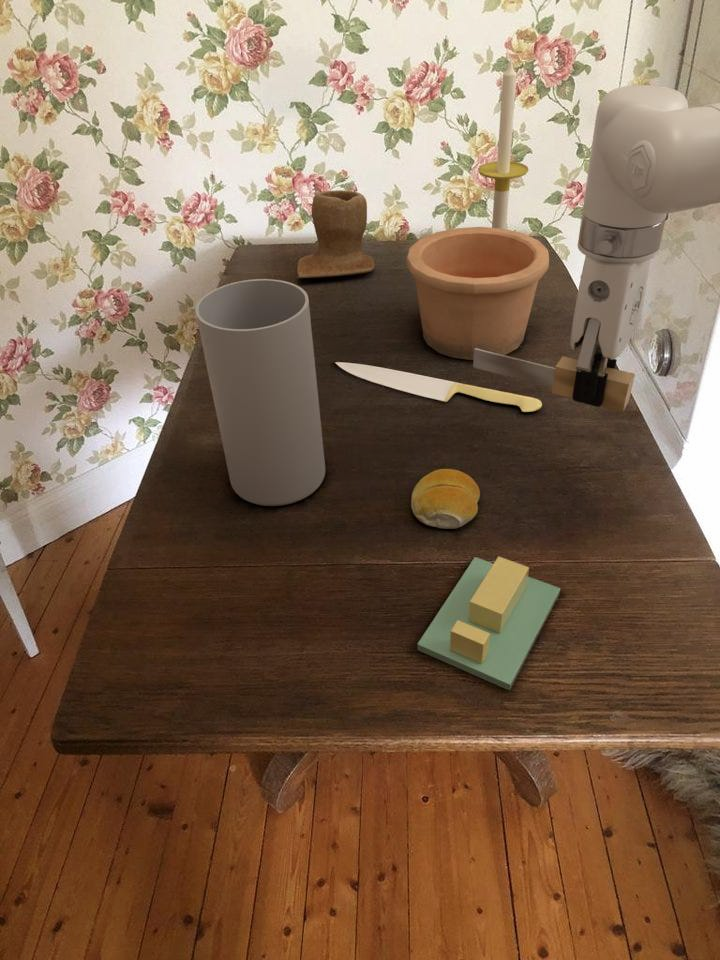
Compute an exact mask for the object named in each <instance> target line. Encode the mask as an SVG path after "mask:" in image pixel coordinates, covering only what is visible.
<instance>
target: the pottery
mask: <svg viewBox="0 0 720 960" xmlns="http://www.w3.org/2000/svg"><path fill="white" fill-rule="evenodd" d="M549 265H550V255H549V249H547V247H546V246H545V245H544V244H543V243H542V242H541V241H540V240H538V239H537V238H534V237H532V236H530V235H527V234H525V233H523V232H519V231H514V230H511V229H507V228H506V229H501V228H492V227H487V226H471V227H456V228H452V229H446V230H441V231H436V232H434V233H431V234H429V235H427V236H424V237H422V238H420V239H418V240H417V241H416V242H415V243H413V244H412V245H411V246H410V247H409V250H408V253H407V256H406V267H407V269H408V271H409V272H410V274H411V276H412V277H413V278H414V280H415V286H416V293H417V294H416V295H417V301H418V308H419V314H420V320H421V329H422V338H423V339H424V342H425V343H426V344H427V346H428V347H430V348H432V349H433V350H434V351H436V352H437V353H438V354H441V355H443V356H447V357H449V358H453V359H459V360H466V361H474V349H475V348H477V349H481V350H485V351H489V352H493V353H497V354H501V355H505V356H507V355H508V354H510V353H512V352H513V351H515V350H517V349H518V348H519V347H520V346H521V344H522V343H523V342H524V340H525V335H526V330H527V327H528V323H529V319H530V316H531V310H532V307H533V303H534V299H535V295H536V292H537V287H538V284H539V281H540V280H541V279H542V277H543V276H544V275H545V274H546V272H547V271H548V270H549V267H550V266H549Z"/></svg>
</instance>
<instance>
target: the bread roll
mask: <svg viewBox="0 0 720 960" xmlns="http://www.w3.org/2000/svg"><path fill="white" fill-rule="evenodd" d="M480 498H481V491H480V488H479V485H478V484H477V483H476V481H475V479H473V478H472V477H471V476H470V475H469V474H467V473H465V472H463V471H460V470H457V469H454V468H440V469H436V470H433V471H432V472H430V473H428V474H426V475H425V476H423V477H422V478H421V479H419V481H418V482H417V483H416V485H415V486H414V488H413V490H412V493H411V498H410V506H411V507H410V508H411V511H412V513H413V515H414V517H415V518H416V519H417V520H418V521H419V522H420V523H422V524H424V525H425V526H429V527H433V528H437V529H444V530H445V529H447V530H449V529H450V530H455V529H458V528H461V527H463V526H464V525H467V524H468V523H469V522H470V521H472V520H473V519H474V518H475V517H476V516H477V514H478V510H479V504H478V502H479V500H480Z"/></svg>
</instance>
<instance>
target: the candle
mask: <svg viewBox="0 0 720 960" xmlns="http://www.w3.org/2000/svg"><path fill="white" fill-rule="evenodd" d="M517 76H518V75H517V72H516V71H515V69H514V65H513V60H512V55H511V56H510V59H509V61H508V64H507V68H506V70H505V71H504V72H503V73H502V81H501V82H502V83H501V84H502V85H501V99H500V114H499V129H498V146H497V159H496V161H489V162H485V163H484V164H481V165H480V166H479V167H478V168H477V171H478V173H479V175H481V176H483V177H484V178H487V179H488V178H489V179H492V180H494V191H493V192H494V193H493V204H492V205H493V209H492V223H491V228H501V229H506V230H507V225H508V224H507V222H508V221H507V220H508V210H509V197H510V184H511V183H510V182H511V180H514V179H518V178H521V177H523V176H526V175H527V173H529V170H530V169H529V167H528V165H526V164H524V163H523V162H517V161H511V154H512V141H513V129H514V128H513V127H514V114H515V101H516V99H515V98H516V88H517V87H516V86H517Z"/></svg>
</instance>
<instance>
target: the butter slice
mask: <svg viewBox="0 0 720 960" xmlns="http://www.w3.org/2000/svg"><path fill="white" fill-rule="evenodd" d="M489 640H490V633H488V632H485V631H483V630H481V629H478V628H476V627H473V626H471V625H469V624H466V623H464V622H461V621H459V620H457V622H456V623H455V625H454V626H453V628H452V630H451V637H450V650H452V651H454V652H456V653H458V654H461V655H463V656H465V657H468V658H470V659H472V660H475V661H477V662H479V663H483V661H484V659H485V657H486V656H487V654H488V650H489Z"/></svg>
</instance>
